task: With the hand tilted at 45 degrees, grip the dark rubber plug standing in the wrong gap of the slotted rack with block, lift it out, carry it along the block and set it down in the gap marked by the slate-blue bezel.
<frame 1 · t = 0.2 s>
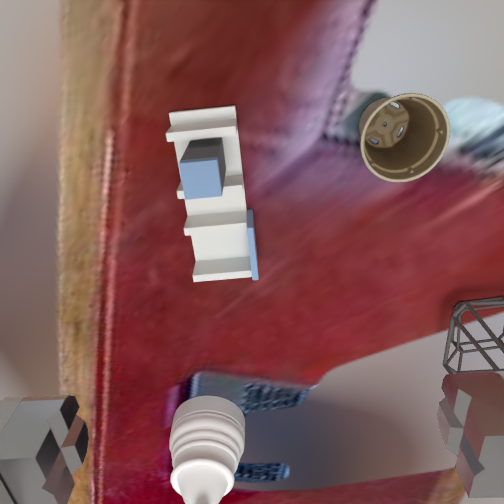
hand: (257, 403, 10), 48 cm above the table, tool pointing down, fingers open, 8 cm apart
slotted rack with block: (215, 197, 58), on the table
geometric lantern: (476, 315, 68), on the table
flower pot: (382, 123, 54), on the table
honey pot: (209, 420, 78), on the table
plug: (208, 154, 54), point 1 cm above the table, touching slotted rack with block
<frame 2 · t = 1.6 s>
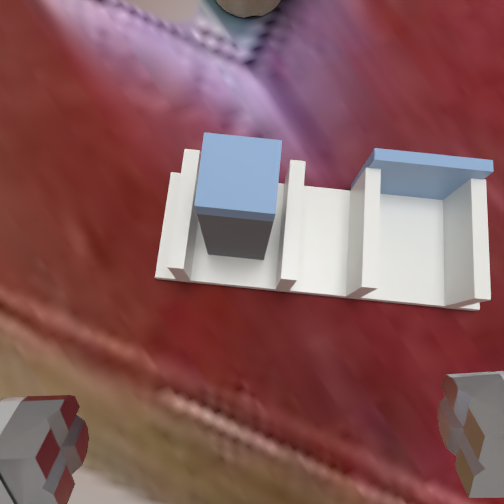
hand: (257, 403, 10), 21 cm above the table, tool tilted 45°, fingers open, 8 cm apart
slotted rack with block: (318, 241, 32), on the table
plug: (238, 230, 31), point 1 cm above the table, touching slotted rack with block
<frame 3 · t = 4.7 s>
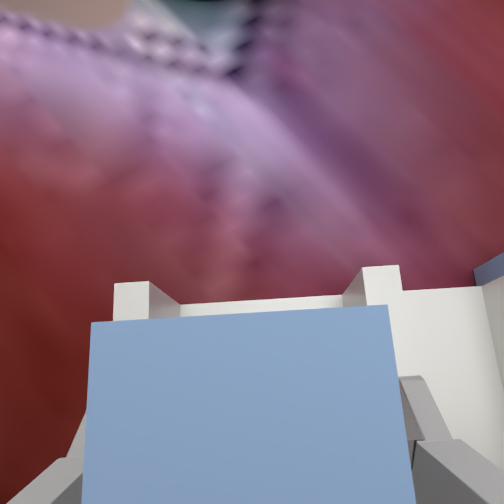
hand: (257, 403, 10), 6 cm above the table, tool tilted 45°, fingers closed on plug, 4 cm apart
slotted rack with block: (436, 404, 15), on the table
plug: (267, 415, 15), point 1 cm above the table, touching slotted rack with block, gripper
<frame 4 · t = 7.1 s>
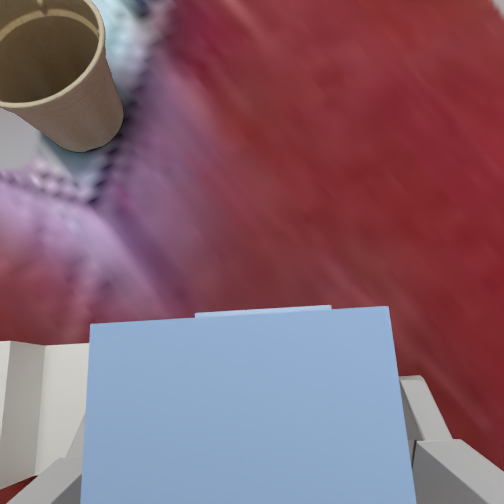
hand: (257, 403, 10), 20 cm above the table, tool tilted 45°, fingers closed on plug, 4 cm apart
slotted rack with block: (179, 400, 29), on the table
flower pot: (88, 122, 35), on the table
plug: (267, 415, 15), point 14 cm above the table, touching gripper
when the fingers open (8 cm above the table, at t = 9.6 s): plug drops 1 cm, resting on slotted rack with block.
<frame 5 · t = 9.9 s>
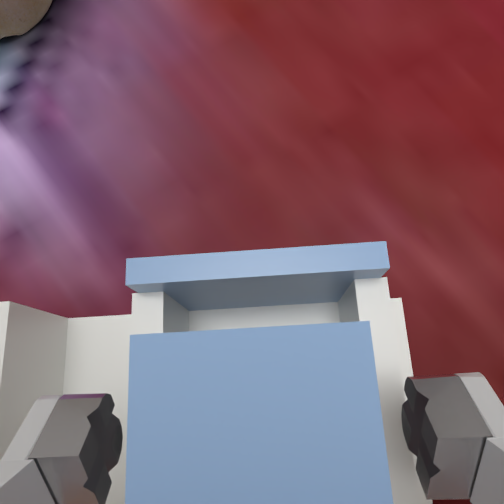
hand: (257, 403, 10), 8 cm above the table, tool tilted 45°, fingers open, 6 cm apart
slotted rack with block: (119, 418, 17), on the table
flower pot: (3, 4, 24), on the table
plug: (267, 412, 16), point 1 cm above the table, touching slotted rack with block
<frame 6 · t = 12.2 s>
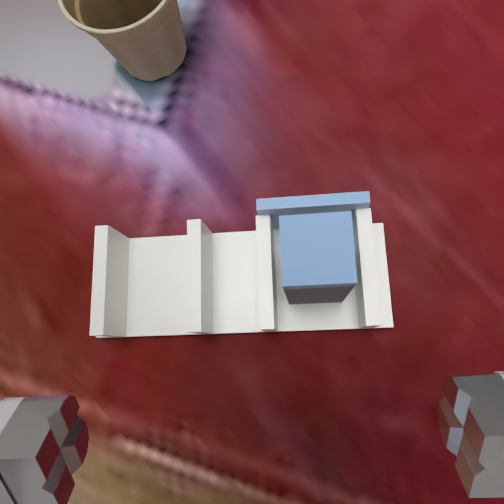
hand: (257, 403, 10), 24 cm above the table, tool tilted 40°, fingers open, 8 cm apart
slotted rack with block: (239, 282, 35), on the table
flower pot: (155, 55, 41), on the table
plug: (313, 277, 33), point 1 cm above the table, touching slotted rack with block
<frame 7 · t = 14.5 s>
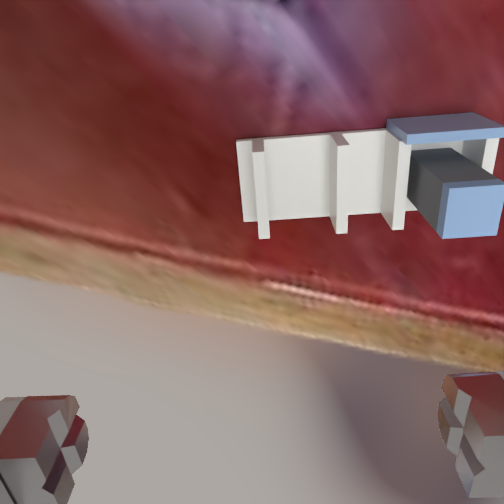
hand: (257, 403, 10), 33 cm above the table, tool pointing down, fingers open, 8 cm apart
slotted rack with block: (360, 172, 41), on the table
plug: (425, 170, 40), point 1 cm above the table, touching slotted rack with block
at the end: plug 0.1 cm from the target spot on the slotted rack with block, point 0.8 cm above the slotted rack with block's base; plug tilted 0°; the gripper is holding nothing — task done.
